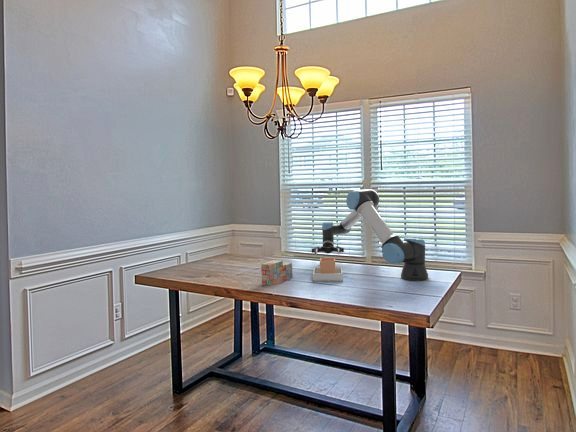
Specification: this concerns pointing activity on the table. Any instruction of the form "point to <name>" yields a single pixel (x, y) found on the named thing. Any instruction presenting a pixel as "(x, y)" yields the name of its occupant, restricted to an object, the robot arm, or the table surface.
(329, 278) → the grey crate
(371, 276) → the table surface
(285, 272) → the stack of blocks
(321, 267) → the terracotta crate
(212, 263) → the table surface
